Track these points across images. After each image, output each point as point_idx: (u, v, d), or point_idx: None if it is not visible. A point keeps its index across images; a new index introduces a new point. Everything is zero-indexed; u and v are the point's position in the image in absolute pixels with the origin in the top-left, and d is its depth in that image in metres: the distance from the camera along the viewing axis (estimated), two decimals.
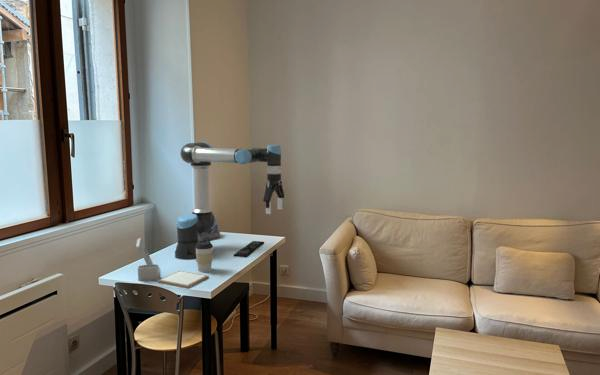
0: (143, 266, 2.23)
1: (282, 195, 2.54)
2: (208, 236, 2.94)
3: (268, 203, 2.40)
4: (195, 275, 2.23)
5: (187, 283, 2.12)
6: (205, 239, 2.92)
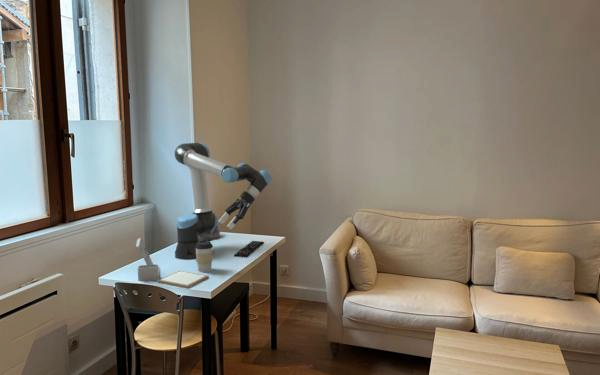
0: (143, 266, 2.23)
1: None
2: (208, 236, 2.94)
3: (237, 220, 2.33)
4: (195, 275, 2.23)
5: (187, 283, 2.12)
6: (205, 239, 2.92)
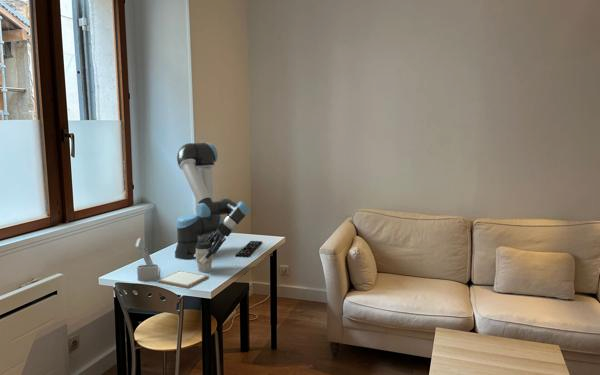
0: (143, 266, 2.23)
1: None
2: (207, 236, 2.94)
3: (210, 255, 2.30)
4: (195, 275, 2.23)
5: (187, 283, 2.12)
6: (204, 239, 2.92)
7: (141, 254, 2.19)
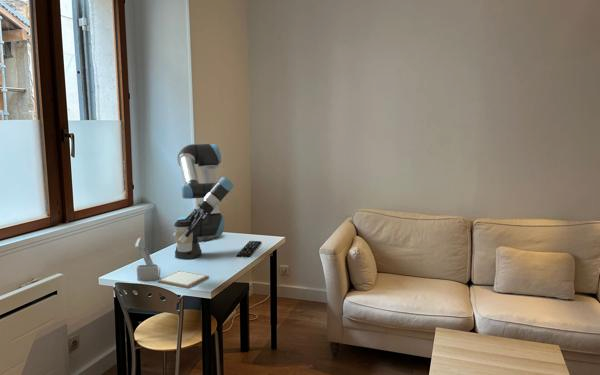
0: (142, 266, 2.23)
1: None
2: None
3: (190, 233, 2.13)
4: (195, 275, 2.23)
5: (187, 283, 2.12)
6: (204, 239, 2.92)
7: (141, 254, 2.20)
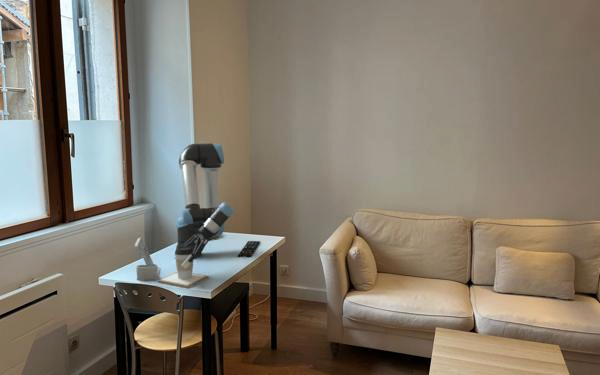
0: (142, 266, 2.23)
1: None
2: None
3: (193, 258, 2.14)
4: (195, 275, 2.23)
5: (187, 283, 2.12)
6: None
7: (140, 254, 2.20)
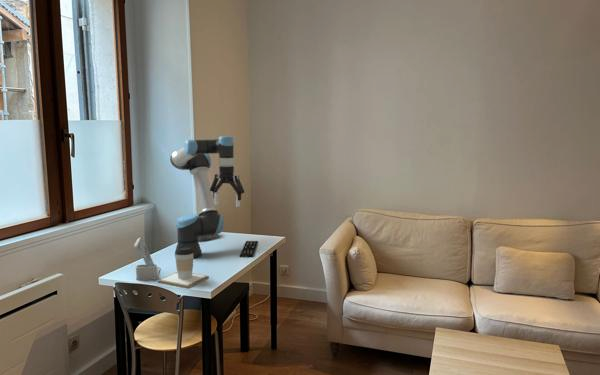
0: (142, 265, 2.24)
1: None
2: (206, 236, 2.93)
3: None
4: (195, 275, 2.23)
5: (187, 283, 2.12)
6: (203, 239, 2.92)
7: (140, 254, 2.20)
